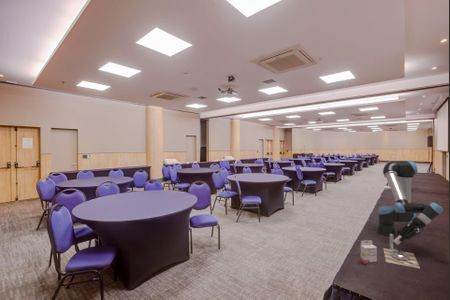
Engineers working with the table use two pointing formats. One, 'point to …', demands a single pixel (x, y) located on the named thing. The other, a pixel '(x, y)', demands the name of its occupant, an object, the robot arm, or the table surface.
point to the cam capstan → (396, 253)
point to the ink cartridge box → (368, 252)
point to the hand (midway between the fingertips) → (395, 242)
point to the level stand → (402, 262)
